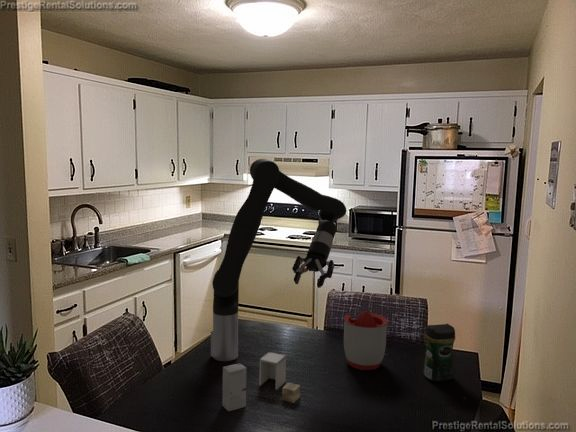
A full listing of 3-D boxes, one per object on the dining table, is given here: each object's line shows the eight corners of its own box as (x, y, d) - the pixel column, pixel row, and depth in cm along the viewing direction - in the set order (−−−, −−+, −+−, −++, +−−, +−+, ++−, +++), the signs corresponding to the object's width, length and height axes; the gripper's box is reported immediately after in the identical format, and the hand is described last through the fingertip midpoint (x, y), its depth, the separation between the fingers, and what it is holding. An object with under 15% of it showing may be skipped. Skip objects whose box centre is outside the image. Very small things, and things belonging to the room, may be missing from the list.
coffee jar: (443, 370, 167) (447, 320, 164) (456, 381, 159) (460, 328, 157) (419, 373, 164) (422, 321, 162) (431, 383, 157) (434, 330, 154)
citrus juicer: (366, 350, 183) (368, 300, 180) (394, 369, 167) (397, 314, 165) (331, 357, 176) (333, 305, 173) (357, 377, 160) (360, 320, 158)
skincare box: (228, 412, 137) (228, 372, 135) (221, 405, 141) (221, 366, 139) (247, 406, 140) (247, 367, 139) (240, 399, 144) (240, 362, 142)
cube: (282, 400, 145) (282, 387, 144) (288, 394, 148) (288, 382, 148) (293, 403, 143) (294, 390, 142) (299, 397, 146) (299, 385, 146)
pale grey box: (259, 385, 153) (259, 358, 152) (268, 377, 159) (268, 351, 158) (276, 389, 151) (277, 363, 149) (285, 381, 156) (286, 355, 155)
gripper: (299, 238, 171) (285, 276, 162) (337, 242, 164) (323, 281, 156) (305, 250, 176) (291, 287, 167) (341, 254, 170) (329, 293, 161)
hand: (307, 284), depth 161 cm, fingers open, 8 cm apart
